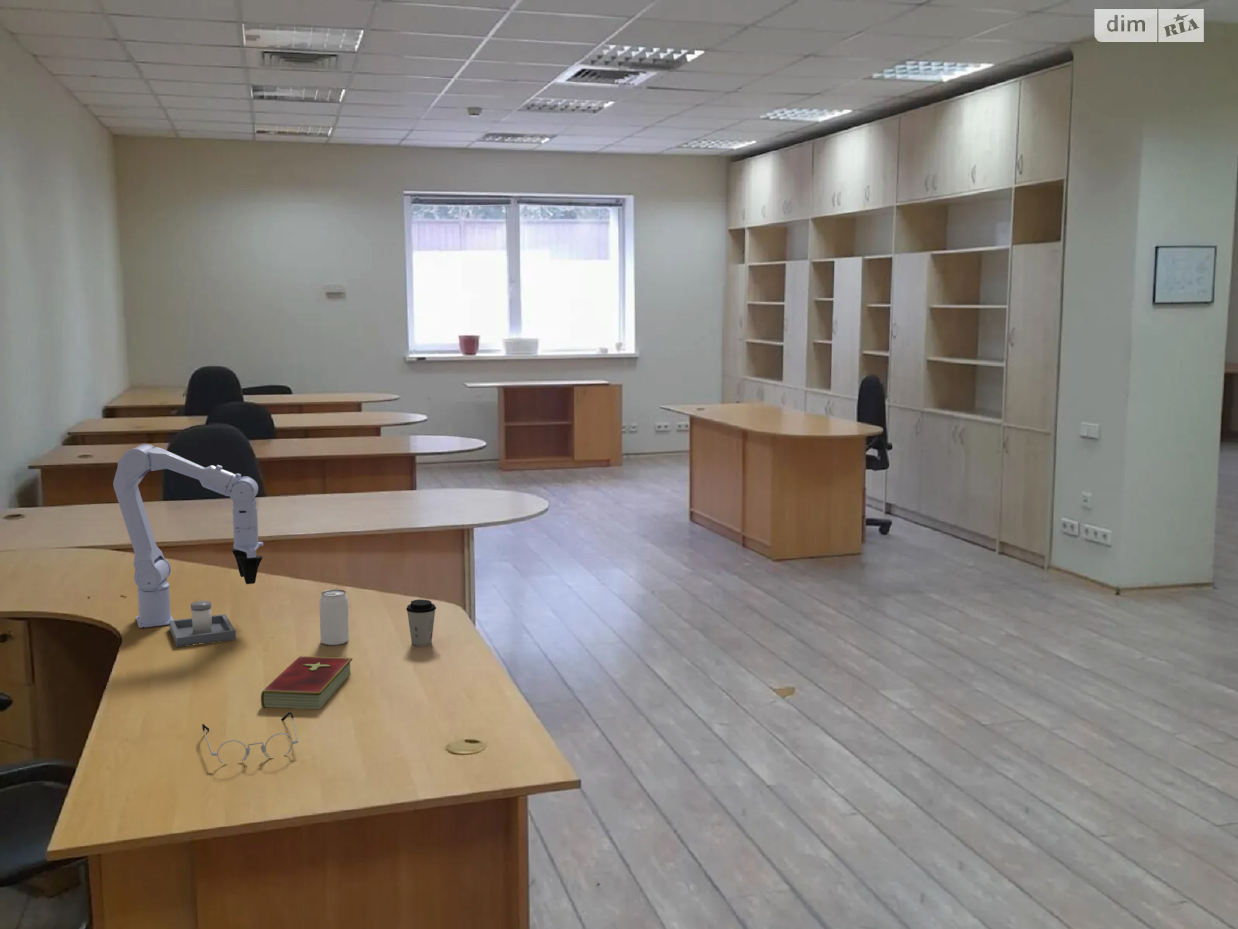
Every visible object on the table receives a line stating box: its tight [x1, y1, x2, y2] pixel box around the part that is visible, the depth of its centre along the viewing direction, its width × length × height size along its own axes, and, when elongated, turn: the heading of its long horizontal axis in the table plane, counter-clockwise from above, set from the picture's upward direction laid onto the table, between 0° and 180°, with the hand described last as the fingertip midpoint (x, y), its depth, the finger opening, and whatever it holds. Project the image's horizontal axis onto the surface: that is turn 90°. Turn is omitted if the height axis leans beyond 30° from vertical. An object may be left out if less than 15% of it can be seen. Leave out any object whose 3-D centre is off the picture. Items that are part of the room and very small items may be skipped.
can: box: [319, 588, 350, 646], centre depth 254 cm, size 6×6×12 cm
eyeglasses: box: [201, 711, 299, 764], centre depth 197 cm, size 16×19×5 cm
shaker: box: [190, 600, 213, 634], centre depth 258 cm, size 5×5×7 cm
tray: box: [168, 613, 237, 648], centre depth 259 cm, size 15×13×2 cm
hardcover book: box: [260, 655, 353, 710], centre depth 224 cm, size 12×21×4 cm, turn 177°
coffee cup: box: [405, 599, 437, 647], centre depth 254 cm, size 7×7×10 cm
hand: (247, 580), depth 269 cm, fingers open, 7 cm apart
